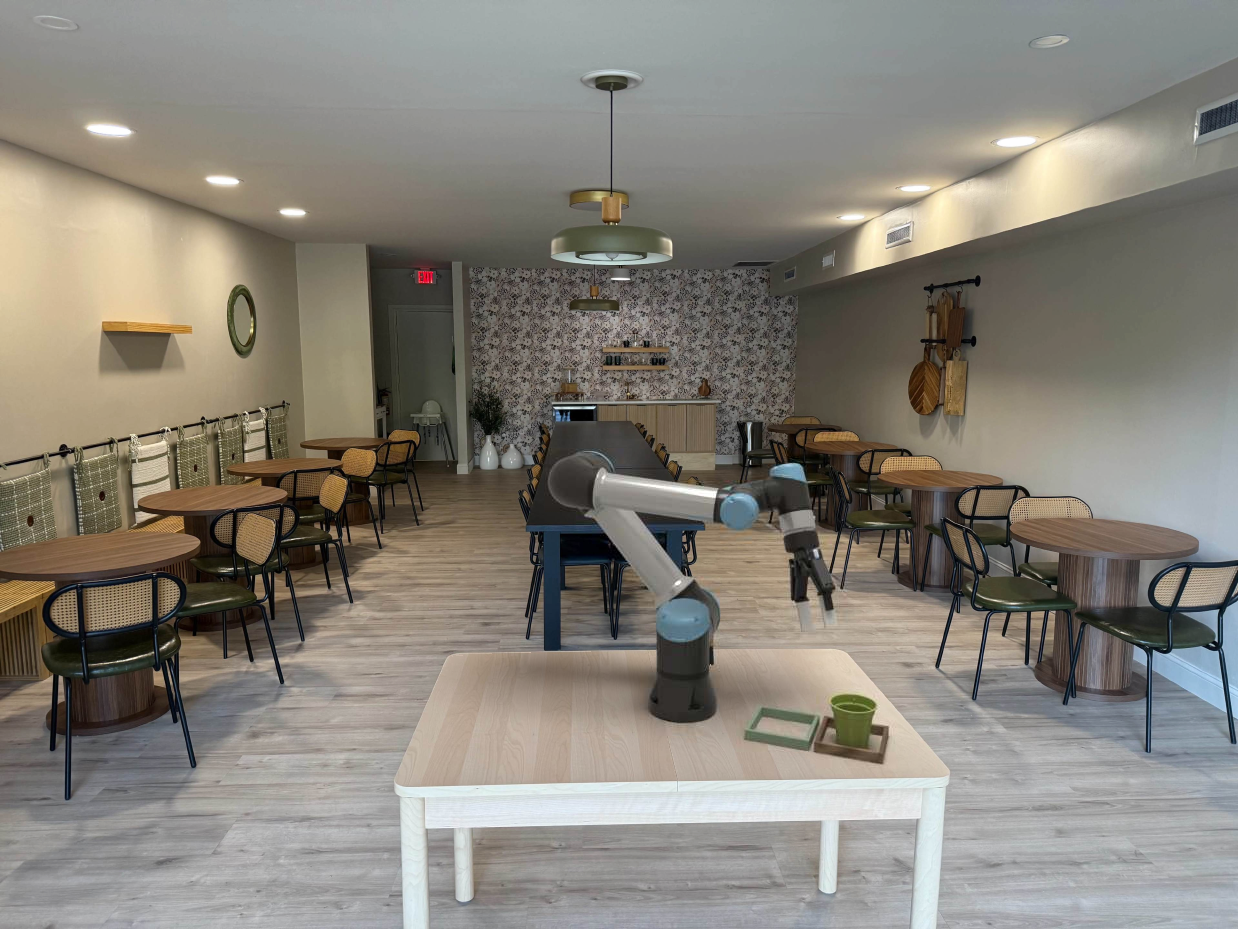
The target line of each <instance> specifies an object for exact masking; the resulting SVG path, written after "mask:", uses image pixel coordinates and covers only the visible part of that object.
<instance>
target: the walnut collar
mask: <svg viewBox="0 0 1238 929" xmlns="http://www.w3.org/2000/svg"><path fill="white" fill-rule="evenodd" d="M819 726H820V727H818V728H819V729H818V730H817V732H816V736H815V738H814V740H813V741H814V742H813V752H814V753H820V754H822V755H823V754H824V755H829V754H830V756H835V757H840V758H846V757H848V758H847V759H851V758H853V760H857V759H860V760H859V761H862V760H864V762H868V761H869V763H875V764H879V765H883V764H884V759H885V753H886V750H887V744H888V739H889V732H890V730H889V728H890V727H889V725H883V724H878V723H877V724H876V723H872V725H871V730H870V735H874V736H880V737H881V741H880V746H879V750H878V751H877V750H872V749H866V748H864V749H861V748H855V747H850V746H844V745H839V744H838V743H832V742H826V741H823V740H824V737H825V735H826V732H827V729H828V728H830V729H831V728H833V729H835V723H834V716H829V715H824V716H823V718H822V720H821V723H820V725H819Z"/></svg>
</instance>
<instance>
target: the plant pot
mask: <svg viewBox="0 0 1238 929" xmlns="http://www.w3.org/2000/svg"><path fill="white" fill-rule="evenodd" d="M828 704H829V706H830V707H831V711H832V713H833V717H834V723H835V728H834V731H835V738H836V744H838V745H844V746H850V747H855V748H861V749H866V748H867V747H868V746H869V741H870V735H871V734H870V730H871V725H872V724H873V718H874V716H875V713H876V711H877V709H878V706H879V705H878V703H877V702H876V701H875V700H874V699H873V698H870V697H868V696H866V695H862V694H856V693H837V694H834V695H833V696H831V697H830V698H829V699H828Z"/></svg>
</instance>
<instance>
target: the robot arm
mask: <svg viewBox="0 0 1238 929" xmlns="http://www.w3.org/2000/svg"><path fill="white" fill-rule="evenodd" d="M547 486H548V489H549V492H550V494H551V496H552V497H553V499H554V500H555V501H556V502H558V503H559V504H561V505H562V506H564V507H569V508H576V509H578V510H580V512H581V514H582V515H583V516H584V517H585V518H591V519H594V520H595V521H596V522H597V524H598V525H599V527H600V528H601V529H602V530H603V531H604V533H605V534H606V535H607V537H608V538H609V540H610V541H611V542H612V543H613V545H614V546H615V547H616V548H617V550H618V551H619V552H620V554H621V555H622V557H623V558H624V559H625V561H627V563H628V564H629V565H630V567H631V568H632V569H633V571H634V572H635V573H636V574H637V576H638V578H639V579H640V580H641V581H642V583H643V584H644V585H645V586H646V587H647V589H648V590H649V591H650V593H651V594H652V595H653V596H654V599H655V603H654V609H655V610H656V611H657V613H656V618H655V628H656V675H655V678H654V680H653V684H652V687H651V690H650V693H649V695H648V696H649V697H648V710H649V709H650V710H649V712H652V713H651V714H652V715H654V716H655V715H656V718H659V717H660V719H662V718H663V719H662V720H665V719H666V720H665V721H669V720H670V721H669V722H677V723H695V722H699V721H704V720H706V719H709V718H711V717H712V716H714V715H715V714H716V712H717V711H718V710H717V707H718V706H717V704H718V703H717V701H718V700H717V696H716V692H715V689H714V686H713V683H712V680H711V678H710V666H709V645H710V641H711V639H712V637H713V638H714V635H715V633H716V631H717V630H718V628H719V625H720V622H721V621H720V620H721V606H720V603H719V601H718V598H716V596H715V595H714V594H713V593H712V592H710V590H708V589H706V588H704V587H701V586H700V584H699V583H698V582H697V581H696V579H695V578H694V577H693V576H687V575H684V574H683V572H682V571H681V570H680V569H679V567H678V566H677V565H676V564H675V562H674V561H673V559H672V558H671V557H670V556H669V554H667V552H666V551H665V549H664V548H663V547H662V546H661V544H660V543H659V542H658V540H657V539H656V538H655V537H654V535H653V534H652V533H651V531H650V530H649V528H647V526H646V525H645V524H644V522H643V521H642V520H641V518H640V517H639V516H638V514H637V513H643V514H650V515H656V516H657V515H659V516H664V517H670V518H671V517H672V518H677V519H678V518H679V519H686V520H687V519H688V520H693V521H701V522H704V523H705V522H706V523H713V524H719V525H725V526H726V527H727V528H729V529H730V530H733V531H743V530H746V529H748V528H749V527H751V526H752V525H753V524H754V523H755V522H756V521H757V519H758V516H759V515H760V514H765V513H770V512H774V511H775V512H776V511H777V514H778V521H779V526H780V530H781V531H780V532H781V534H783V535H784V536H783V538H782V540H783V546H784V549H785V552H786V553H787V554H793V558H788V565H789V581H790V584H789V585H790V600H791V601H792V602H794V603H795V604H796V610H797V615H798V620H799V621H798V622H799V625H800V630H801V633H806V632H814V631H815V625H814V622H813V618H812V613H811V612H812V611H811V608H810V603H809V602H810V598H809V597H808V596H807V594H808V593H807V592H808V586H809V584H808V583H809V578H810V580H811V581H812V583H813V586H814V587H815V589H816V590H817V592H816V596H817V598H818V601H819V602H818V603H819V606H820V612H821V616H822V621H823V626H824V629H828V628H835V627H839V623H838V618H837V613H836V610H835V604H834V600H833V592H834V591H835V590H836V585H835V583H834V580H833V578H832V576H831V573H830V571H829V569H828V566H827V565H826V562H825V559H824V557H823V553H822V550H821V548H819V547H820V545H821V544H820V540H819V535H818V531H816V530H814V529H816V528H817V526H816V523H815V522H816V521H815V520H816V516H815V515H814V512H813V508H812V507H813V505H812V502H811V498H810V497H811V496H810V491H809V486H808V482H807V478H806V475H805V472H804V467H803V466H802V465H801V464H800V463H795V462H793V463H791V462H789V463H784V464H780V465H775V466H773V467H772V468H770V470H769V477H767V478H764V479H758V480H755V481H750V482H745V483H740V484H732V485H731V486H728V487H723V488H717V487H710V486H703V485H695V484H689V483H682V482H674V481H668V480H661V479H655V478H654V479H653V478H646V477H645V478H644V477H639V476H633V475H632V476H631V475H623V474H617V473H615V468H614V466H613V464H612V462H611V461H610V460H609V458H608V457H607V456H605V455H604V454H602V453H600V452H599V451H598V452H597V451H593V450H591V451H590V450H584V451H583V450H582V451H579V452H576V453H575V454H573V455H569V456H566V457H563V458H561V459H560V460H558V461H556V463H555V464H553V466H552V467H551V469H550V471H549V474H548V480H547ZM636 512H637V513H636Z"/></svg>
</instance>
